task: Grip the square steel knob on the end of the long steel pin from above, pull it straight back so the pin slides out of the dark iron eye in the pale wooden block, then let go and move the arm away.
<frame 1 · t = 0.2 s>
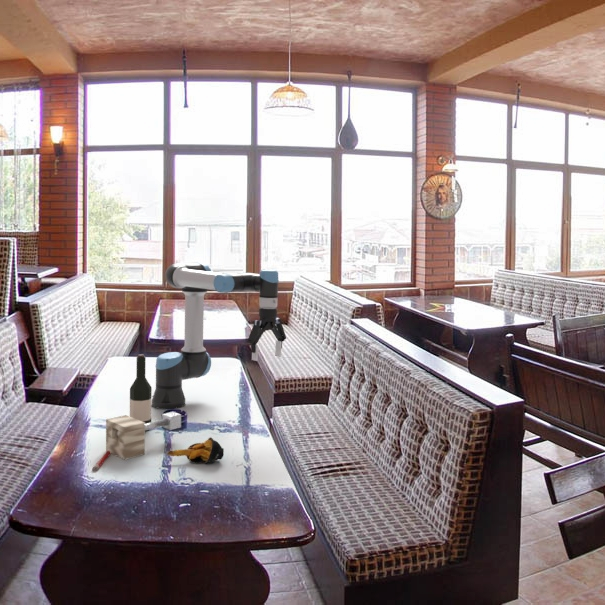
hand: (266, 358, 257), 28 cm above the table, tool pointing down, fingers open, 13 cm apart
flare: (101, 464, 211), on the table
fried shrimp in bowl: (196, 462, 215), on the table
pull pin: (148, 426, 227), point 7 cm above the table, slide at 0.0 cm
eye block: (125, 452, 221), on the table
wine bottle: (140, 429, 248), on the table
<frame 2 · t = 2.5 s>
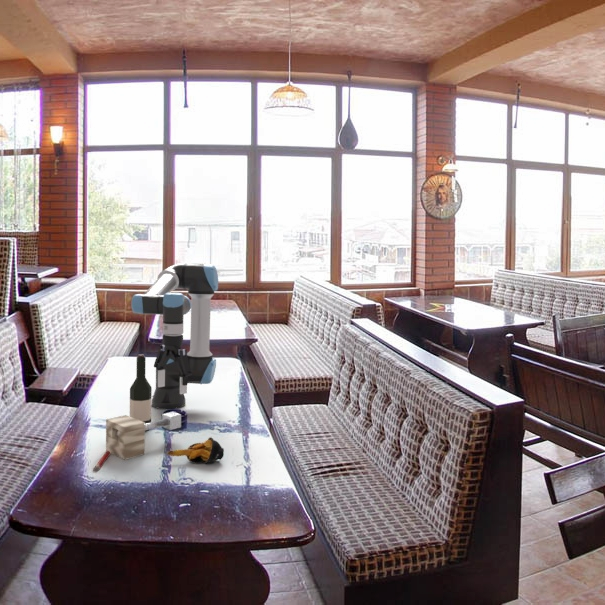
hand: (172, 390, 234), 19 cm above the table, tool pointing down, fingers open, 13 cm apart
nothing on the table moved.
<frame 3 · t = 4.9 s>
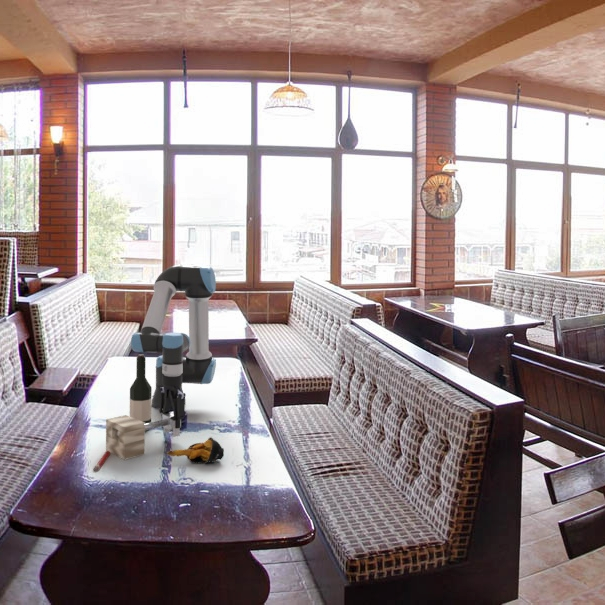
hand: (171, 434, 236), 2 cm above the table, tool pointing down, fingers closed on pull pin, 5 cm apart
pull pin: (148, 426, 227), point 7 cm above the table, slide at 0.0 cm, touching gripper
everything else where it was.
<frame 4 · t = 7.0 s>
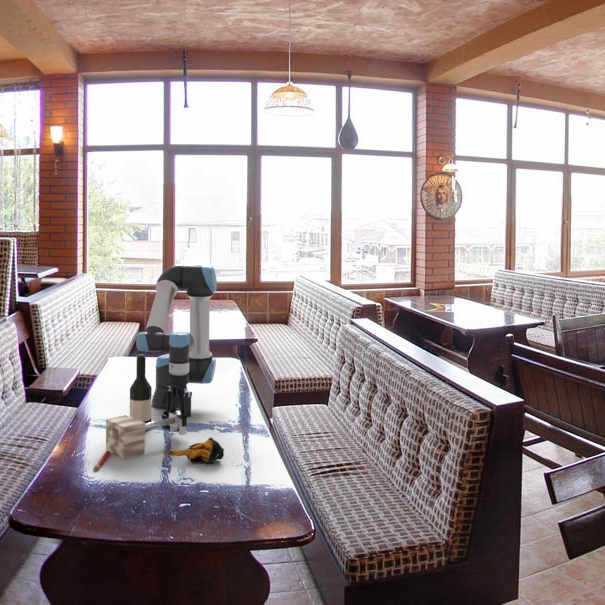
hand: (178, 432, 238), 2 cm above the table, tool pointing down, fingers closed on pull pin, 5 cm apart
pull pin: (155, 424, 230), point 7 cm above the table, slide at 3.1 cm, touching gripper
everything else where it was.
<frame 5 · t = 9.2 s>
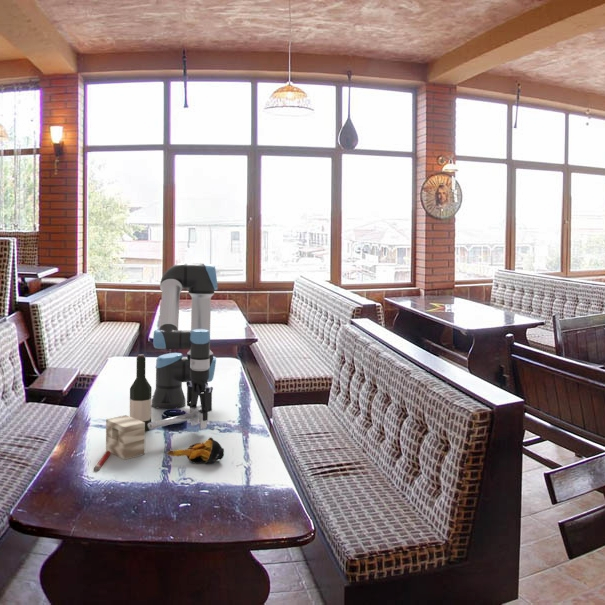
hand: (198, 426, 245), 2 cm above the table, tool pointing down, fingers closed on pull pin, 5 cm apart
pull pin: (177, 419, 237), point 7 cm above the table, slide at 13.1 cm, touching gripper
everything else where it was.
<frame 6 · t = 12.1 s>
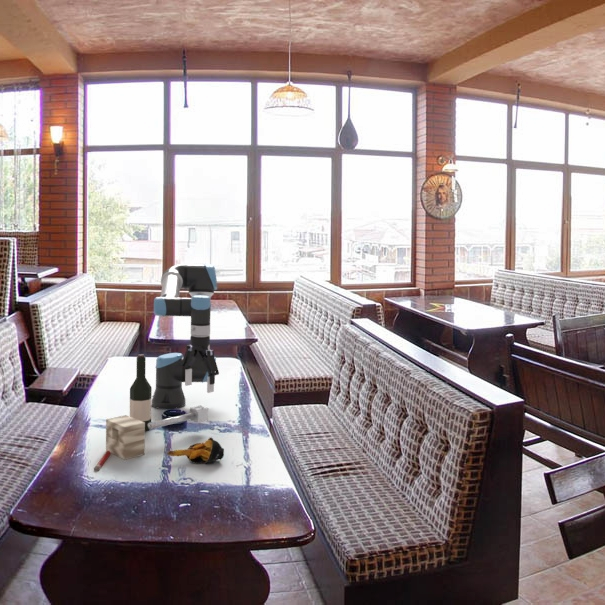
hand: (199, 388, 244), 18 cm above the table, tool pointing down, fingers open, 13 cm apart
pull pin: (177, 419, 237), point 7 cm above the table, slide at 13.2 cm
everything else where it was.
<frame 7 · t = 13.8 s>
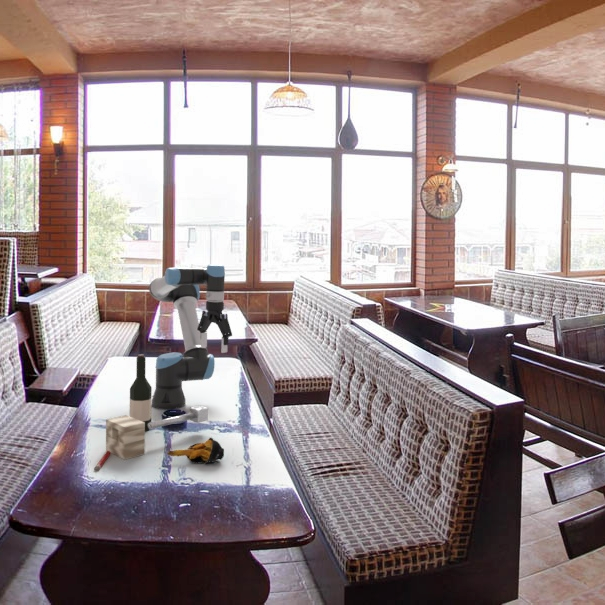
hand: (213, 350, 267), 29 cm above the table, tool pointing down, fingers open, 13 cm apart
nothing on the table moved.
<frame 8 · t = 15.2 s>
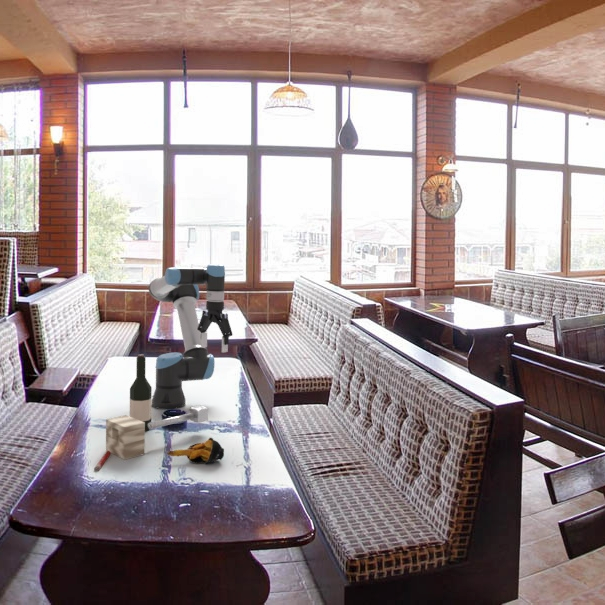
hand: (214, 349, 267), 29 cm above the table, tool pointing down, fingers open, 13 cm apart
nothing on the table moved.
at the end: pull pin slide at 13.2 cm; the gripper is holding nothing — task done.
